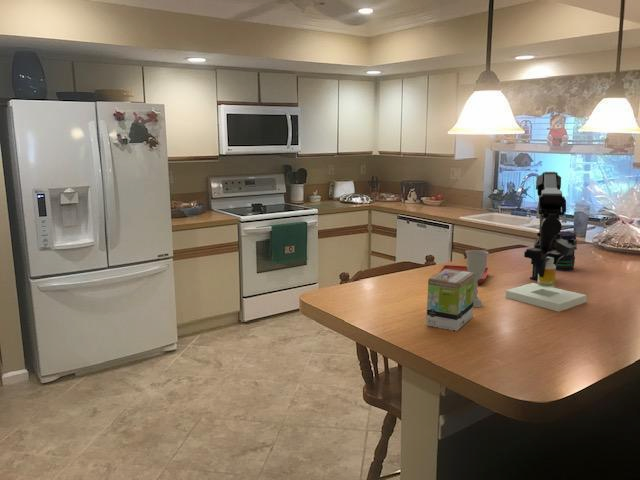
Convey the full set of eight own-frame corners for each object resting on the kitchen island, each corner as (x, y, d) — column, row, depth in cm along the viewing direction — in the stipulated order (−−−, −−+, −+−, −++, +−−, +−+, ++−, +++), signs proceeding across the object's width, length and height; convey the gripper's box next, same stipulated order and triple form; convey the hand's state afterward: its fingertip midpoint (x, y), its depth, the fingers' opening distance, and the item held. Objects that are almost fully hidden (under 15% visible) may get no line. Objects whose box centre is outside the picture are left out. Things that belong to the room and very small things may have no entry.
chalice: (486, 302, 182) (489, 250, 178) (485, 308, 176) (488, 254, 172) (464, 301, 184) (466, 249, 181) (462, 306, 178) (464, 253, 174)
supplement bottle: (556, 288, 180) (558, 259, 178) (539, 287, 181) (540, 259, 179) (552, 283, 185) (554, 256, 183) (536, 283, 186) (537, 255, 184)
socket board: (505, 297, 188) (505, 290, 187) (532, 289, 197) (532, 282, 196) (559, 311, 172) (559, 304, 171) (585, 302, 181) (586, 295, 180)
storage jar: (575, 267, 228) (578, 232, 225) (572, 272, 220) (575, 236, 217) (550, 264, 233) (552, 230, 230) (546, 269, 225) (548, 234, 222)
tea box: (458, 332, 155) (460, 282, 153) (425, 326, 161) (426, 278, 158) (473, 317, 168) (475, 271, 165) (442, 312, 173) (443, 267, 170)
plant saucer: (436, 283, 209) (436, 274, 208) (443, 272, 225) (443, 264, 224) (485, 287, 202) (485, 278, 201) (488, 275, 219) (489, 267, 218)
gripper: (556, 237, 168) (552, 285, 171) (588, 230, 178) (584, 275, 181) (524, 232, 177) (521, 278, 180) (556, 225, 187) (553, 269, 190)
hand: (546, 275), depth 183 cm, fingers closed on supplement bottle, 5 cm apart
